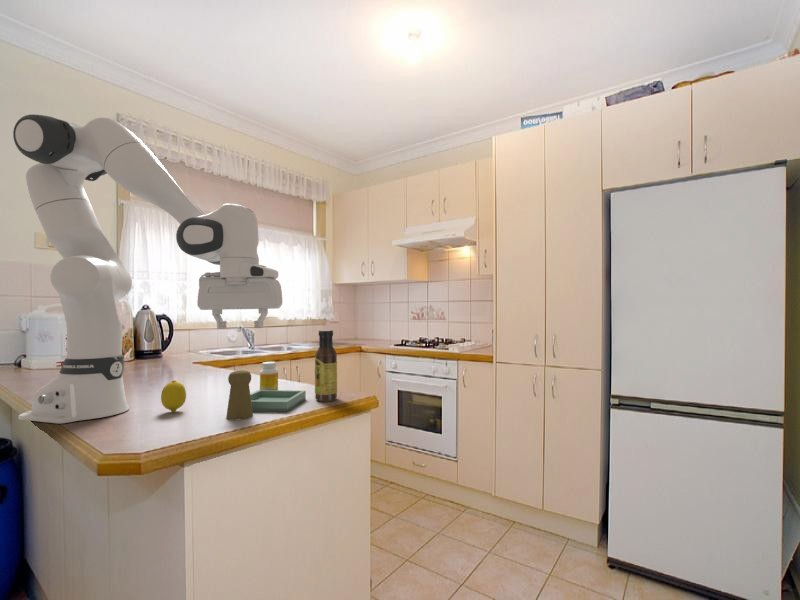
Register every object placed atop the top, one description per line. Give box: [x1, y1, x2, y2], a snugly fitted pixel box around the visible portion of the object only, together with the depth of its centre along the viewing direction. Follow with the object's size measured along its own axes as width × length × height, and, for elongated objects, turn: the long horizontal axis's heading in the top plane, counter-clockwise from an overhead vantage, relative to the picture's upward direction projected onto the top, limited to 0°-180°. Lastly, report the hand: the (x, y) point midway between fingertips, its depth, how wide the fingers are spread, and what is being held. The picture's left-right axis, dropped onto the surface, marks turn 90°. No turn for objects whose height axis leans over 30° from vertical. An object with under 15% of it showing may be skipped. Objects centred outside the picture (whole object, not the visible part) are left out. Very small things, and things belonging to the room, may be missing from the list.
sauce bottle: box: [314, 329, 338, 403], centre depth 114 cm, size 6×6×20 cm
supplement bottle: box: [259, 361, 279, 390], centre depth 123 cm, size 5×5×10 cm
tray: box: [250, 389, 307, 413], centre depth 108 cm, size 14×14×2 cm
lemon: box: [160, 379, 187, 413], centre depth 102 cm, size 6×6×8 cm
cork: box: [225, 369, 254, 420], centre depth 97 cm, size 6×6×11 cm
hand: (240, 328), depth 97 cm, fingers open, 8 cm apart
